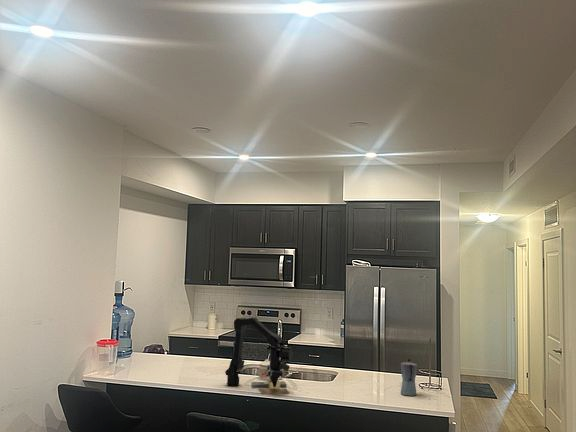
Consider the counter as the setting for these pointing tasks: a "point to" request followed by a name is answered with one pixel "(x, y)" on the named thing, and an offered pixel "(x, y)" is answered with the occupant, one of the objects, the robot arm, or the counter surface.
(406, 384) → the moka pot
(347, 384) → the counter surface
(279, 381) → the lever cap
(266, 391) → the walnut board
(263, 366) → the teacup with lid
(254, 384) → the plane body
